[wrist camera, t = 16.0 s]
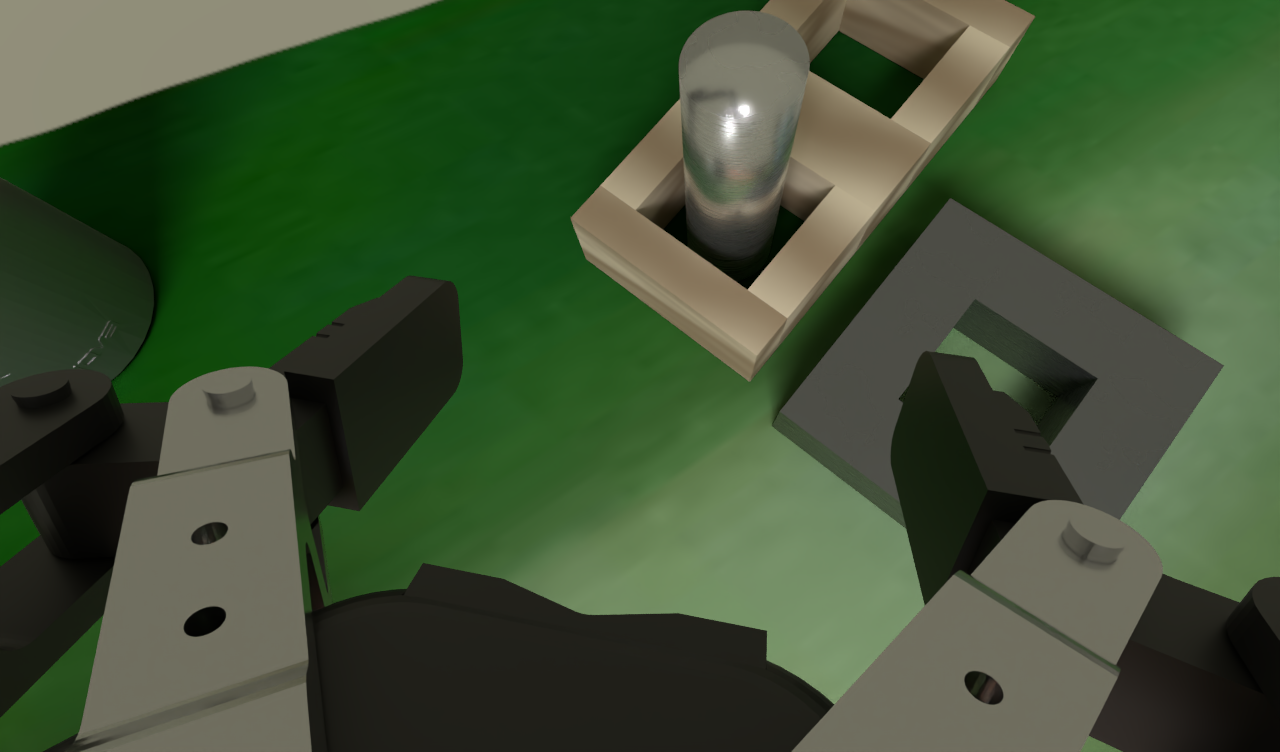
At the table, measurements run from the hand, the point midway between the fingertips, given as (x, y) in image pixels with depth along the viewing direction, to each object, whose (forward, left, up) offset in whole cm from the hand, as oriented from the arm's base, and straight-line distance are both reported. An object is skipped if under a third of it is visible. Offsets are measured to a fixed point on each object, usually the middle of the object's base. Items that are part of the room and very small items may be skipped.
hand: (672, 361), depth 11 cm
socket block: (+7, +10, -18) cm, 22 cm away
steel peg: (-6, +10, -18) cm, 22 cm away
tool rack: (-6, +15, -18) cm, 24 cm away
